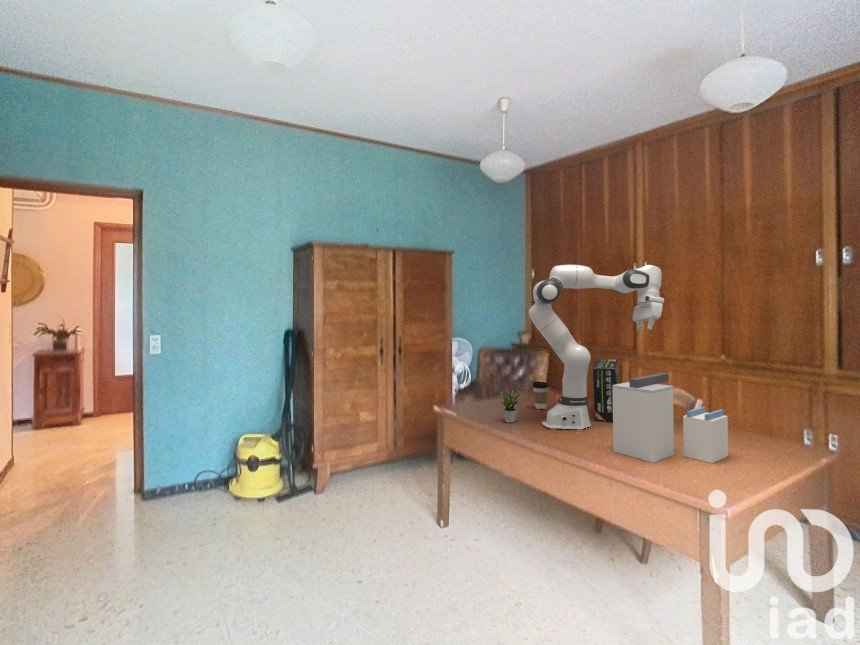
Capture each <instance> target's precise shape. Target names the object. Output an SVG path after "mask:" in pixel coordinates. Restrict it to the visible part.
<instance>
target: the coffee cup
mask: <svg viewBox="0 0 860 645" xmlns="http://www.w3.org/2000/svg"><path fill="white" fill-rule="evenodd" d="M548 383H549V382H546V381H536V380H535V381H533V382H532V388H533V401H534V408H535V407H536V408H546V409H547V404H548V403H547V402H548V388H549V384H548Z"/></svg>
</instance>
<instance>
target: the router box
mask: <svg viewBox="0 0 860 645" xmlns="http://www.w3.org/2000/svg"><path fill="white" fill-rule="evenodd" d="M619 368H620V366H619V359H609V358H608V359H607V358H599V359H597V361H596V362H595V364H594V365H593V366H592V383H593V386H592V387H593V411H594V412H593V414H594V417H593V419H595V420H604V421H605V420H606V421H613V387H612V385H616V384H620V373H619ZM604 421H603V422H604Z"/></svg>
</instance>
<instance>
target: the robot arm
mask: <svg viewBox="0 0 860 645" xmlns="http://www.w3.org/2000/svg"><path fill="white" fill-rule="evenodd" d="M662 276H663V275H662V270H661V268H660V267H658V266H657V265H653V264H645V265H643V266H641V267H638V268H633V269H632V268H631V269H627V270H626V271H624V272H623V273H620V274H618V275H614V276H608V275H600V274H596V273H594V270H593V269H592V268H591V267H590V266H586V265H581V264H560V265H555V266H553V267H552V269H550V272H549V277H548V279H545V280H541V281H538V282H536V283H535V285H534V286H533V287H532V292H531V294H532V295H531V296H532V302H533V305H532V306H530V308H529V310H528V316H529V318H530V320H531V321H532V323H533V325H534V326H535V328H536V329H537V330H538V332H539V333H540V334H541V335H542V336H543V338H544V339H545V341H547V343H548V344H549V345H550V347H551V348H552V350H553V352H554V353H555V354H556V356H557V357H558V358H559V360H560V361H561V362H562V363H563V364H564V368H563V369H564V370H563V376H562V379H561V380H562V386H561V388H562V395H558V394H557V395H556V396H555V398H556V400H557V401H558V403H557V404H556V405H555V406H553V407H552V408H550V409H549V410H548V411H547V414H546V419H543V420H544V421H545V420H546V422H543V420H542V421H541V425H542V424H543V425H544V426H546V427H549V428H562V429H584V428H586V429H588V428H587V427H589V428H591V427H592V424H591V420H590V416H589V410H588V408H589V397H588V386H587V385H588V373H589V367H590V363H591V358H592V357H591V353H590V351H589V349H588V348H587V347H585V346H583V345H581V344H579V343H578V342H577V341H576V340H575V338H574V336H572V334H571V332H570V331H569V329H568V327H567V326H566V325H565V323H564V322H563V321H562V320H561V318H560V317H559V316H558V315H557V313H555V311H554V310H553V307H552V304H554V303H555V302H557V301H558V299H559V298H560V296H561V293H562V291H563V289H592V288H593V289H602V290H610V291H612V292H616V293H617V294H619V295H629V294H631V293H632V292H634V291H637V292H638V294H637V296H638V297H637V301H636V302H637V304H636V305H635V306H634V309H633V314H632V321H633V322H635V323H636V330H637V331H643V326H642V325H643V322H647V321H648V323H647V325H646V329H647V330H653V326H654V324H655V321H656V320H660V318H661V317H662V312H663V304H664V303H665V298H664V297H661V296H660V295H661V294H660V289H661V286H662ZM543 425H542V426H543ZM590 426H591V427H590ZM584 430H585V429H584Z"/></svg>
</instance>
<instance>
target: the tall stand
mask: <svg viewBox="0 0 860 645" xmlns="http://www.w3.org/2000/svg"><path fill="white" fill-rule="evenodd" d="M612 387H613V422H612V424H613V425H612V431H613V432H612V434H613V437H612V438H613V445H612V446H613V453H616V452H618V454H620V453H621V455H624V454H625V456H627V455H628V457H631V456H632V457H631V458H635V459H638V458H639V459H638V460H642V461H646V462H650V463H657V462H659V461H662V460H664V459H667V458H669V457H671V456H674V455H675V443H674V442H675V436H674V435H675V430H674V428H675V427H674V424H675V423H674V385H667V384H661V383H658V384H653V385H649V386H644V387H640V388H633V387H630V383H629V381H626V382H622V383H619V384H616V385H612Z"/></svg>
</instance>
